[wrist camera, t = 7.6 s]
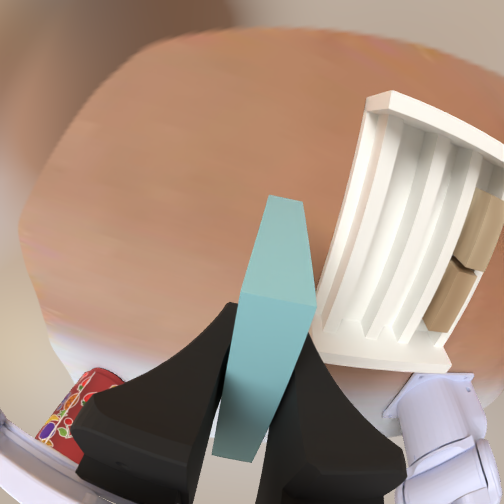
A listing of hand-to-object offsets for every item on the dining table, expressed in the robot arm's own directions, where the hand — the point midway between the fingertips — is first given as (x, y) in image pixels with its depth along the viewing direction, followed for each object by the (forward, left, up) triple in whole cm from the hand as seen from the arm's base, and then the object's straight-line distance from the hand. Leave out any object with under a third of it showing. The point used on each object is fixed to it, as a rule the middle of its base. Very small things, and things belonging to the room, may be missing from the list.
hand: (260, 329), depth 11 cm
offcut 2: (-13, -5, -10) cm, 17 cm away
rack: (-10, -2, -10) cm, 15 cm away
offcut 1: (-13, +1, -10) cm, 17 cm away
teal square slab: (0, 0, -5) cm, 5 cm away
